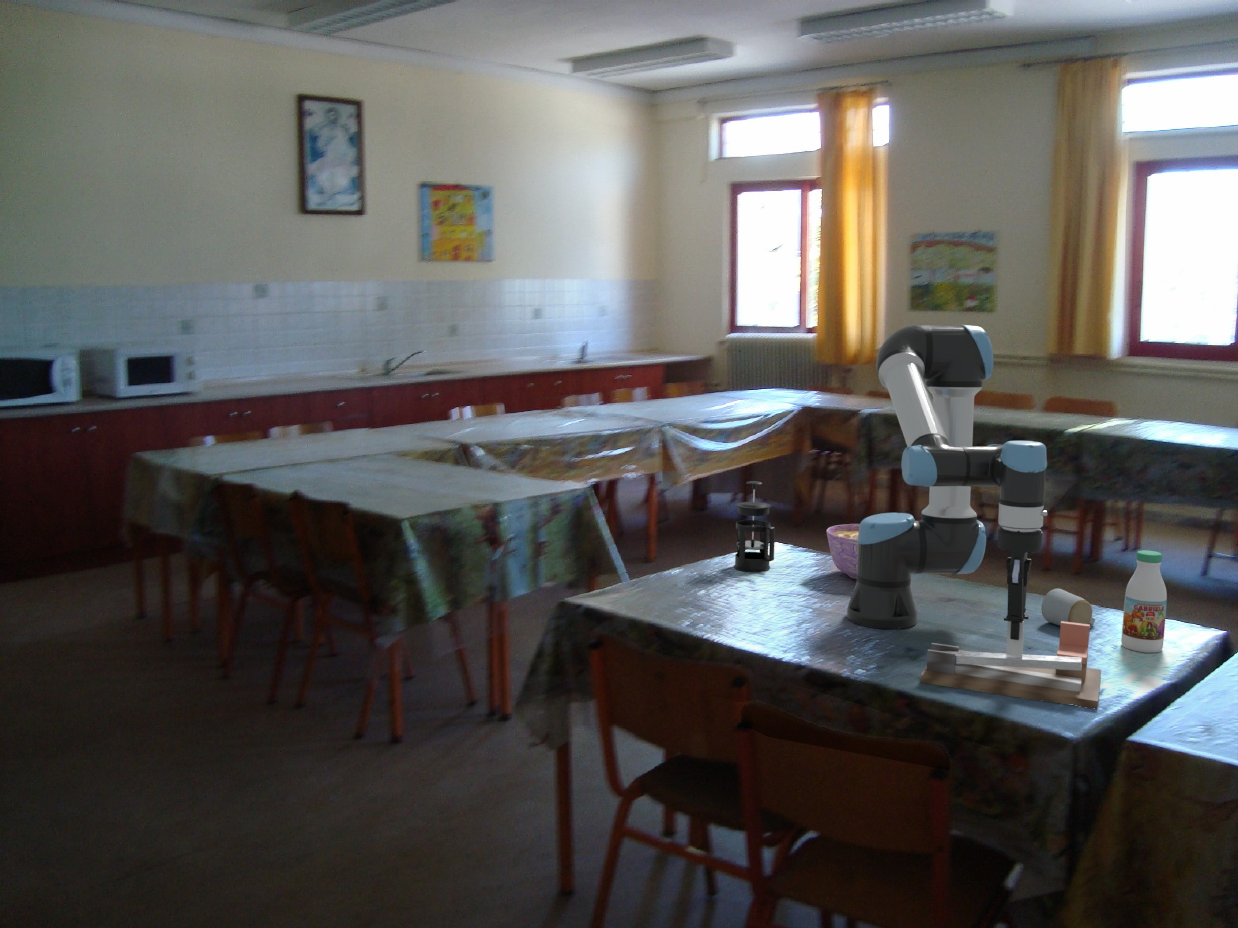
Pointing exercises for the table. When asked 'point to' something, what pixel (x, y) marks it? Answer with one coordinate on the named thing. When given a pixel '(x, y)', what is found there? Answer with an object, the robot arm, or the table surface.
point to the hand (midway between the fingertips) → (1014, 654)
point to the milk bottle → (1145, 605)
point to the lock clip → (1074, 640)
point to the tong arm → (1018, 660)
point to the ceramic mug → (1066, 608)
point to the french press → (753, 559)
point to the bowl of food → (844, 547)
